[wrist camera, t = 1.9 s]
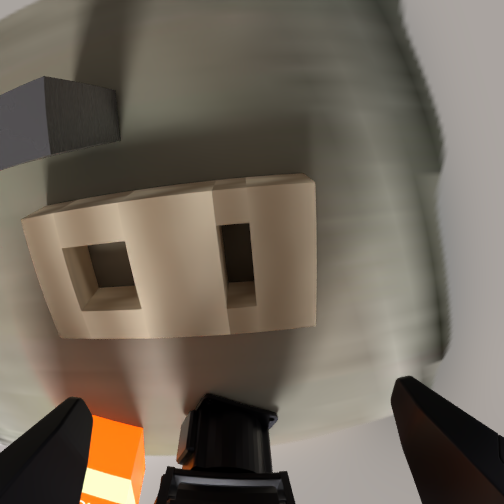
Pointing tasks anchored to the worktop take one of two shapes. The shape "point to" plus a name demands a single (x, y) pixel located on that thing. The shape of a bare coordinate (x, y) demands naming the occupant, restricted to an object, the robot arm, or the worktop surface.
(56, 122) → the square bit
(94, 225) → the socket block
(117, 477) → the orange juice
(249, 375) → the worktop surface
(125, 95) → the worktop surface
